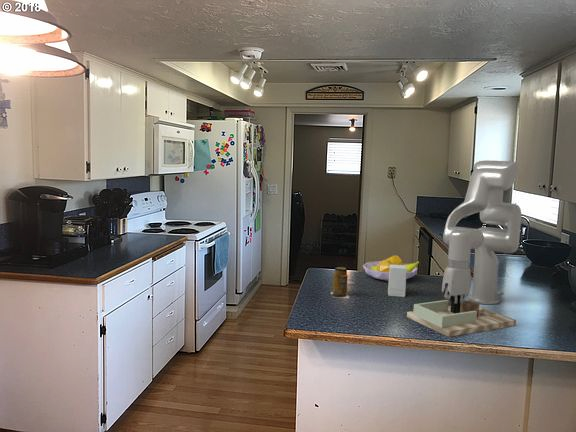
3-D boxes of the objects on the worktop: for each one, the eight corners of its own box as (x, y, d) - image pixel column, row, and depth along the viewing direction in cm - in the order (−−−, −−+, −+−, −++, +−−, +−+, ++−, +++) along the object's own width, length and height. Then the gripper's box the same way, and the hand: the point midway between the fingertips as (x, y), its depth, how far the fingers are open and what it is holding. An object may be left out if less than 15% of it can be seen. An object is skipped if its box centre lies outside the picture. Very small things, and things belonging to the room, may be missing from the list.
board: (469, 308, 198) (470, 303, 198) (515, 325, 178) (516, 320, 178) (406, 317, 184) (407, 311, 184) (448, 337, 165) (449, 331, 164)
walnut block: (469, 312, 185) (470, 300, 184) (478, 317, 180) (479, 304, 180) (458, 314, 183) (459, 301, 183) (467, 318, 179) (468, 305, 178)
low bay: (446, 310, 188) (446, 299, 187) (476, 322, 174) (477, 311, 174) (413, 314, 181) (413, 304, 181) (441, 327, 168) (442, 316, 167)
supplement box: (405, 297, 211) (407, 268, 210) (387, 295, 213) (389, 267, 211) (404, 292, 218) (406, 265, 217) (387, 291, 220) (389, 263, 218)
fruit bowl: (351, 275, 249) (352, 253, 247) (392, 270, 262) (393, 249, 261) (388, 288, 225) (389, 264, 223) (431, 282, 238) (432, 259, 236)
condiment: (346, 293, 215) (347, 266, 214) (349, 298, 207) (350, 270, 206) (330, 292, 215) (331, 266, 214) (332, 298, 207) (333, 270, 205)
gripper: (466, 260, 184) (462, 307, 186) (435, 263, 178) (432, 312, 180) (481, 264, 177) (477, 313, 180) (450, 267, 171) (446, 318, 173)
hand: (455, 312), depth 180 cm, fingers closed
